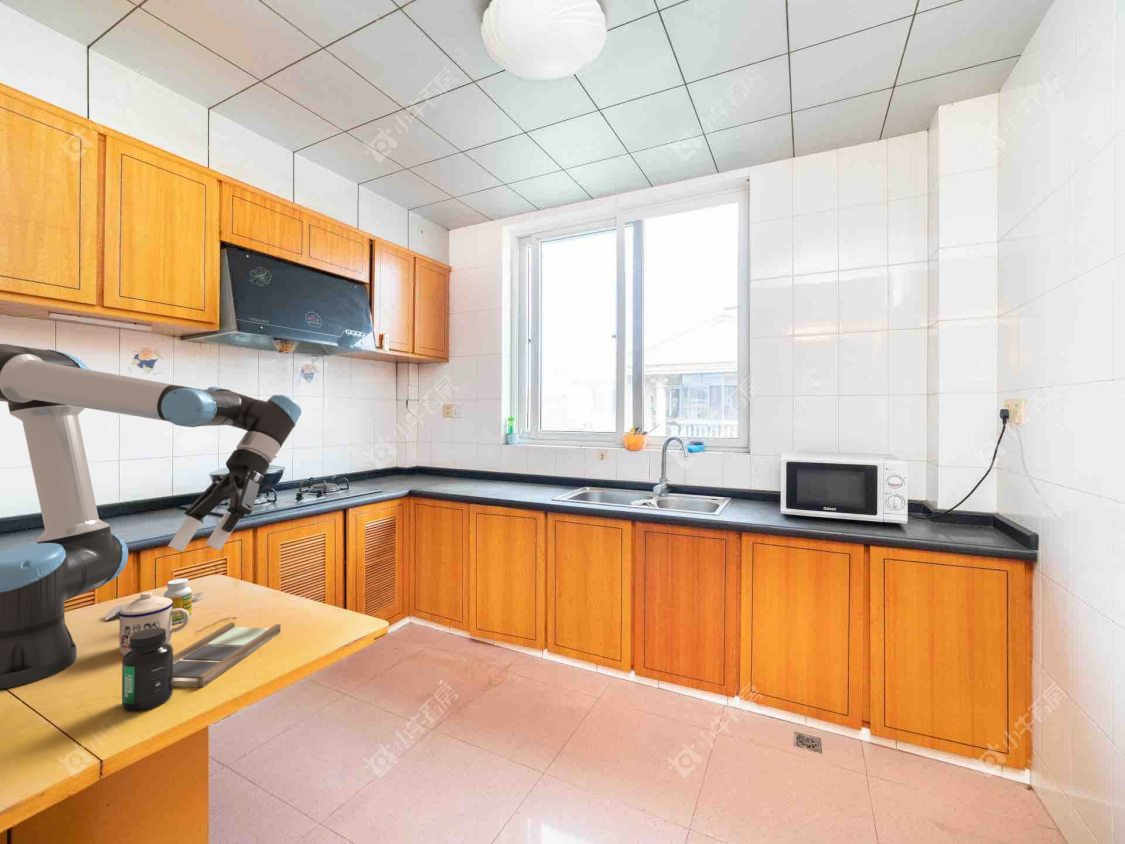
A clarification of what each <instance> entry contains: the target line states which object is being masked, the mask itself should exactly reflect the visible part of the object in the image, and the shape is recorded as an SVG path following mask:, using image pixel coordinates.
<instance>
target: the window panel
mask: <svg viewBox="0 0 1125 844" xmlns="http://www.w3.org/2000/svg"><path fill="white" fill-rule="evenodd" d="M235 625H236V623H235V622H229V623H227V624H225V625H224V626H222V627H220V628H218V629H217V630H215V631H214V632H211V633H210V634H208V635H206V636H204V637H203V638H201V639H200V640H198V641H196V642H194V643H192V644H191V645H189V646H187V647H185V648H184V649H182V650H180V651H178V652H176V653H175V654H173V687H183V688H184V687H186V688H187V687H189V688H190V687H192V688H204V687H206V686H207V685H209V684H210V683H212V682H213V681H214V680H216V679H217V678H219V677H220V676H221V675H222V674H224V673H226V672H227V671H228V670H230V669H231V668H233V667H234V666H236V665H238V663H239V662H241V661H242V660H244V659H246V658H247V657H248V656H250V655H252V654H253V653H254V652H256V651H257V650H258V649H260V648H261V647H262V645H263V646H264V645H265V644H267V643H268V642H270V641H271V640H272V638H273V637H274V638H275V637H277V636H278V635H280V634H281V623H276V624H274V625H273V626H271V627H265V628H264V627H247V626H246V627H245V626H244V627H243V626H241V627H240V626H235ZM279 633H280V634H279ZM276 635H277V636H276ZM274 638H273V639H274ZM269 640H270V641H269Z"/></svg>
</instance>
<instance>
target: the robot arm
mask: <svg viewBox="0 0 1125 844" xmlns="http://www.w3.org/2000/svg"><path fill="white" fill-rule="evenodd" d="M0 402H6V403H7V406H8V409H9V410H8V411H9V415H11V416H12V417H14V418H16V419H19V420H20V421H21V422H22V427H23V431H24V436H25V440H26V445H27V446H26V447H27V450H28V455H29V459H30V465H31V468H32V474H33V478H34V483H35V488H36V492H37V497H38V501H39V502H38V503H39V507H40V512H41V517H42V521H43V522H42V523H43V526H44V531H43V533H42V534H41V535H40V536H39V537H38V538H37V539H36V543H33V544H27V545H22V546H20V547H13V548H12V547H11V548H8V549H5V550H2V551H0V690H3V689H10V688H13V687H19V686H22V685H25V684H29V683H32V682H33V683H34V682H35V681H39V680H42V679H44V678H47V677H50V676H53V675H55V674H56V673H57V674H58V673H59V672H61V671H63V670H65V669H66V668H68V667H70V666H71V665H72V664H73V663H75V662H76V660H77V657H78V655H77V653H78V652H77V651H78V650H77V649H78V648H77V645H76V643H75V642H74V639H73V637H72V634H71V633H70V631H69V628H68V627H67V626H68V625H66V621H65V620H66V619H65V612H66V611H65V609H66V608H65V602H66V601H69V600H71V599H73V598H75V597H78V596H80V595H83V594H85V593H87V592H90V591H94V590H97V589H99V588H101V587H103V586H105V585H106V584H107V583H109V582H111V581H113V580H114V579H116V578H117V577H118V576H119V575H120V574H121V573H122V571H123V570H124V569H125V568H126V565H127V563H128V560H129V549H128V546H127V543H126V542H125V541H124V540H123V538H120V537H119V535H117V534H115V533H112V530H111V526H110V523H107V522H105V521H103V520H101V519H100V517H99V513H98V508H97V504H96V503H97V502H96V499H95V493H94V489H93V484H92V479H91V474H90V473H91V472H90V469H89V464H88V459H87V455H86V449H85V444H84V439H83V434H82V431H81V424H80V420H79V416H80V414H81V413H82V412H83V410H84V409H88V410H89V409H91V410H97V411H102V412H103V411H104V412H108V413H114V414H121V415H125V416H133V417H139V418H146V419H150V420H151V419H152V420H158V421H163V422H164V421H165V422H169V423H171V424H173V425H175V426H179V427H185V428H197V427H198V428H199V427H209V426H210V427H211V426H213V427H215V426H228V427H229V426H230V427H232V428H237V429H240V430H244V431H246V432H245V433H244V435H243V437H241V439H240V441H239V442H238V444H237V445H236V448H235V450H233V452H232V453H231V455H230V456H229V457H228V458H227V460H226V462H225V467H226V468H227V469H228V473H227V474H226V475H225V476H224V477H223V476H221V475H218V476H216V478H215V479H214V480H213V481H212V483H211V484H210V485H209V486H208V487H207V488H206V489H205V491H203V493H202V494H200V496H198V497H197V499H196V500H194V502H193V503H191V505H190V506H189V507H188V508H187V510H185V511H184V513H183V514H184V515H186V519H185V521H183V523H182V525H181V526H180V527H179V529H178V530H177V532H176V533H175V535H174V537H172V539H171V540H170V542H169V544H168V545H167V547H169V548H171V549H174V550H177V551H179V552H181V553H182V552H184V550H185V548H186V547H187V546H188V545H189V543H190V541H192V539H193V537H194V535H195V534H196V532H197V531H198V530H199V528H200V526H201V525H202V524H203V523H204V522H205V521H204V518H205V517H206V516H207V515H209V514H210V513H211V512H212V511H213V510H215V508H217V507H218V506H219V505H220V504H221V503H222V502H224V501H228V500H229V499H230V501H229V502H230V503H229V507H228V508H227V509H225V513H224V514H223V516H222V517H221V519H220V521H219V522H218V524H217V525H216V527H215V528H214V530H213V532H212V533H211V535H210V536H209V538H208V539H207V541H206V542H205V545H206V546H209V547H211V548H213V549H215V550H217V551H221V550H222V549H223V547H224V546H225V544H226V543H227V541H228V539H229V537H230V536H231V534H232V533H233V531H234V529H236V527H237V525H238V523H239V521H240V519H242V518H244V517H245V515H247V516H249V515H251V514H252V513H253V509H254V506H255V503H256V499H257V496H258V493H259V489H260V485H261V483H262V482H263V480H264V479H265V478H264V477H265V474H266V473H267V471H268V469H269V467H270V464H271V463H272V462H273V460H274V459H277V457H278V455H277V454H278V453H279V451H280V449H281V448H282V446H283V444H284V443H285V442H286V440H287V439H288V437H289V436H290V434H291V432H292V431H293V429H294V428H295V427H296V424H297V422H298V420H299V418H300V417H301V414H302V408H301V406H300V405H299V403H298V402H297V401H296V400H294V399H293V398H291V397H289V396H286V395H284V394H283V395H282V394H279V395H278V394H273V395H272V396H270V397H269V398H268V400H266V401H265V400H263V399H257V398H254V397H251V396H248V395H245V394H242V393H238V392H235V391H232V390H231V389H227V388H220V387H217V386H210V387H208V388H207V389H200V388H195V387H194V388H193V387H190V386H189V387H188V386H184V385H176V384H173V383H172V384H170V383H165V382H160V381H154V380H148V379H143V378H138V377H131V376H126V375H120V374H115V373H109V372H104V371H97V370H91V369H90V368H89V367H88V366H87V364H86V363H85V362H83V361H82V360H81V359H79V358H78V357H76V356H73V355H71V354H69V353H65V352H61V351H57V350H54V349H42V348H34V347H28V346H20V345H15V344H9V343H0Z"/></svg>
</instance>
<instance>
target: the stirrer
mask: <svg viewBox="0 0 1125 844" xmlns="http://www.w3.org/2000/svg"><path fill="white" fill-rule="evenodd" d="M203 595H204V592H203V591H202V592H197V593H195V594H192V601H194V600H196V599H198V598H200V597H202V596H203ZM124 605H125V604H121V605H117V606H114V607H113V608H112V609H110V610H109V611H108V612H107V614H106V615H105V616H104V620H105V619H106V620H107V621H109V620H110V619H112V618H113V617H115V616H117V615H118V612H119V610H120V608H121V607H123V606H124ZM118 616H119V615H118Z"/></svg>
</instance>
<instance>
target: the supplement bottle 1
mask: <svg viewBox="0 0 1125 844" xmlns="http://www.w3.org/2000/svg"><path fill="white" fill-rule="evenodd" d="M165 641H166V630H165V629H164V628H152V629H147V630H143V631H140V632H137V633H135V634H133V635H132V636H131V637H130V645H129V648H130V649H131V650H130V651H129V652H128V653H127V654H126V655H123V657H122V660H121V661H122V662H121V707H122V709H123V710H124V711H125V712H129V713H138V712H139V713H140V712H145V711H148V709H149V710H152V709H154V708H153V707H155V708H156V706H157V707H159V706H161V705H163V704H165V703H167V701H169V700H170V699H171V698H172V696H173V691H174V686H173V655H174V649H173V648H174V647H173V646H172V645H171V643H170V644H168V643H165ZM160 704H161V705H160ZM158 705H159V706H158ZM151 708H152V709H151Z"/></svg>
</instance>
